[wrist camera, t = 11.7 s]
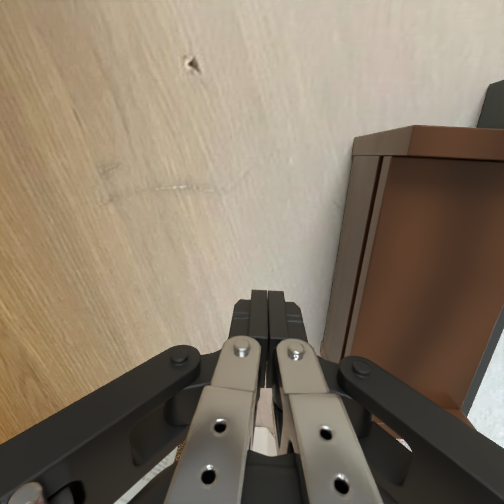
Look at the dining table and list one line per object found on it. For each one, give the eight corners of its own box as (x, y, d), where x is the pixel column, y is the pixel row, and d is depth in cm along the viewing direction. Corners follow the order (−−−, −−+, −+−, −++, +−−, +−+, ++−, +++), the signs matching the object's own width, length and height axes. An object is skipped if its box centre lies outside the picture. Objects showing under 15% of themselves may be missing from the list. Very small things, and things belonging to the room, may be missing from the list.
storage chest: (320, 350, 25) (344, 435, 17) (354, 137, 19) (414, 124, 11) (408, 356, 25) (472, 445, 17) (472, 143, 19) (612, 134, 11)
